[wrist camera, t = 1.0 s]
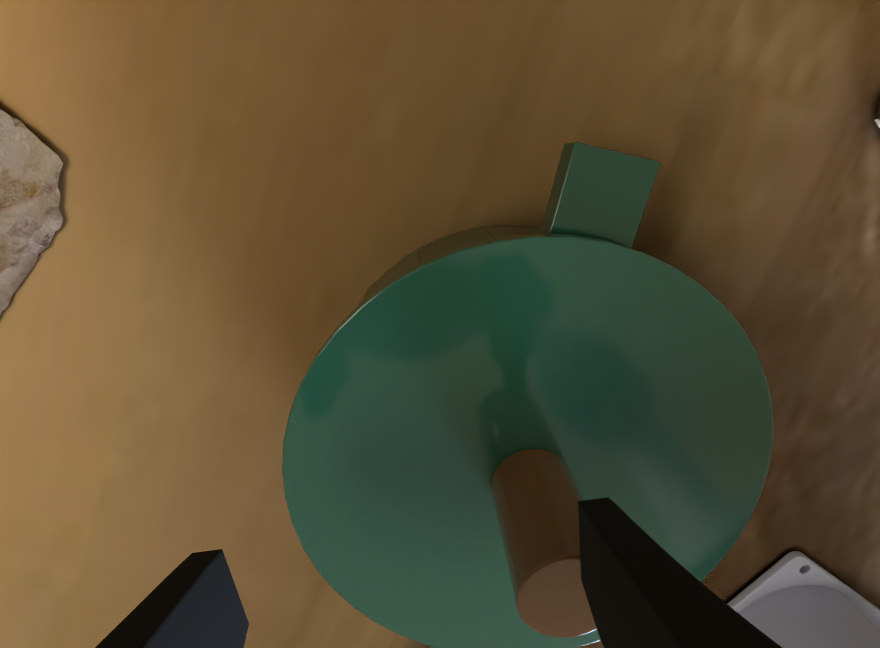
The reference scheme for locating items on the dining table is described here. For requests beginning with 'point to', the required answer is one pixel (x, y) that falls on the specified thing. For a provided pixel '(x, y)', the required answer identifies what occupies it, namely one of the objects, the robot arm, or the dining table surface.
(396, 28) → the dining table surface
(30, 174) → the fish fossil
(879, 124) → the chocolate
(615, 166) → the pot
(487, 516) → the pot lid
